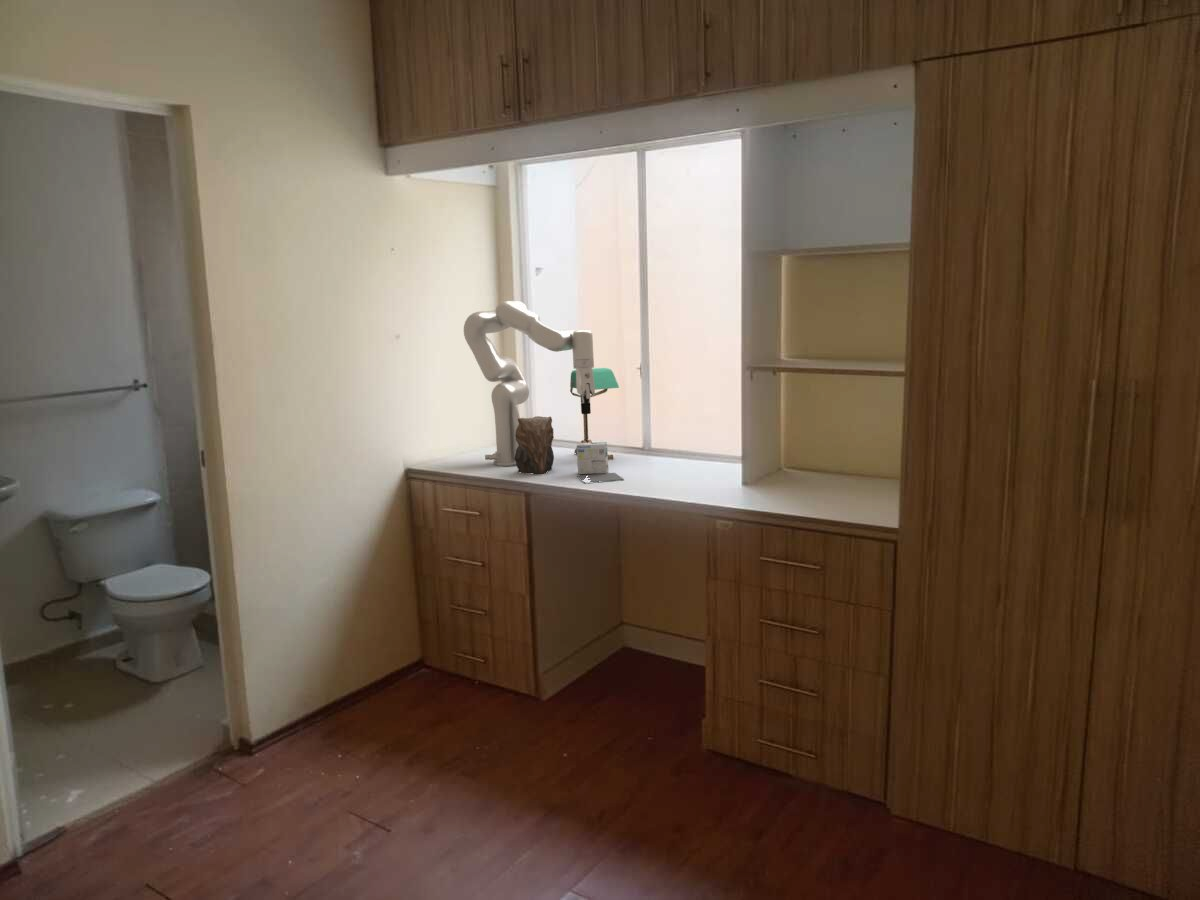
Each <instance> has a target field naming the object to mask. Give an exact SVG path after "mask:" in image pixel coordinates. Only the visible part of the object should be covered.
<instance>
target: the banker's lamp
mask: <svg viewBox="0 0 1200 900" xmlns="http://www.w3.org/2000/svg"><path fill="white" fill-rule="evenodd" d="M592 370H593V376H594V387H595V391H596V390H597V391H596V392H595V394H594V395H592V394H590V399H591V398H593V397H597V396H599V395H601V394H605V393H607V392H608V389H618V388H620V386H619V384H618V381H617V379H616V376H615V373H614V372H613V370H612V369H611V368H607V367H599V368H595V367H594V368H592ZM569 386H570V393H571V395H572V396H574V397H578V398H580V394H578V393H575V392H573V390H574V389H576V390H577V386H576V369H573V370H572V371H571V372H570V385H569ZM598 390H600V391H598ZM582 415H583V440H580V443H593V442H592V439H589V429H588V428H589V422H588V421H589V420H588V419H589V418H588V414H582ZM575 453H576V454H577V446H576V448H575V449H574V454H575ZM576 454H575V455H576ZM608 459H611V460H614V454H608Z"/></svg>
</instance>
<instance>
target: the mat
mask: <svg viewBox="0 0 1200 900" xmlns="http://www.w3.org/2000/svg"><path fill="white" fill-rule="evenodd" d="M587 475H588V477H587V478H590V479H588V480H591V481H590V482H598V483H600V482H599V481H610V482H616V481H615V480H621V481H624V480H625V479H624V478H623V477H622V476H620V475H619V474H617V473H616V472H607V473H597V474H579V475H576V478H578V477H579V478H580V479H581V480H584V479H585V478H586V476H587ZM579 478H578V479H579ZM580 479H579V480H580ZM581 480H580V481H581Z"/></svg>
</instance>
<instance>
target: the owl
mask: <svg viewBox="0 0 1200 900" xmlns="http://www.w3.org/2000/svg"><path fill="white" fill-rule="evenodd" d="M518 422H519V425H518V427H517V429H516V434H515V437H516V439H515V440H516V441H517V442H518V444H519V446H518V448H517V449H516V454H515V457H514V460H515V461H516V464H517V465H516V467H517V470H518V473H519V472H521V473H520V474H526V473H533V474H532V475H538V474H544V473H545V474H546V472H547V471H549V472H550V471H552V470H551V469H553V465H554V459H555V455H554V451H553V447H552V444H553V439H554V437H555V436H554V428H553V426H552V423H553V419H552V416H538V415H537V416H533V417H527V418H525V417H520V418H518ZM547 473H548V472H547ZM545 474H544V475H545Z"/></svg>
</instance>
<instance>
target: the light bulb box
mask: <svg viewBox="0 0 1200 900" xmlns="http://www.w3.org/2000/svg"><path fill="white" fill-rule="evenodd" d="M576 447H577V455H576V457H577V462H576V463H577V474H578V475H592V474H604V473H609V460H608V455H609V454H608V442H607V441H601V442H594V441H593V442H592V443H581V442H579V443H578V444H576Z"/></svg>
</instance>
